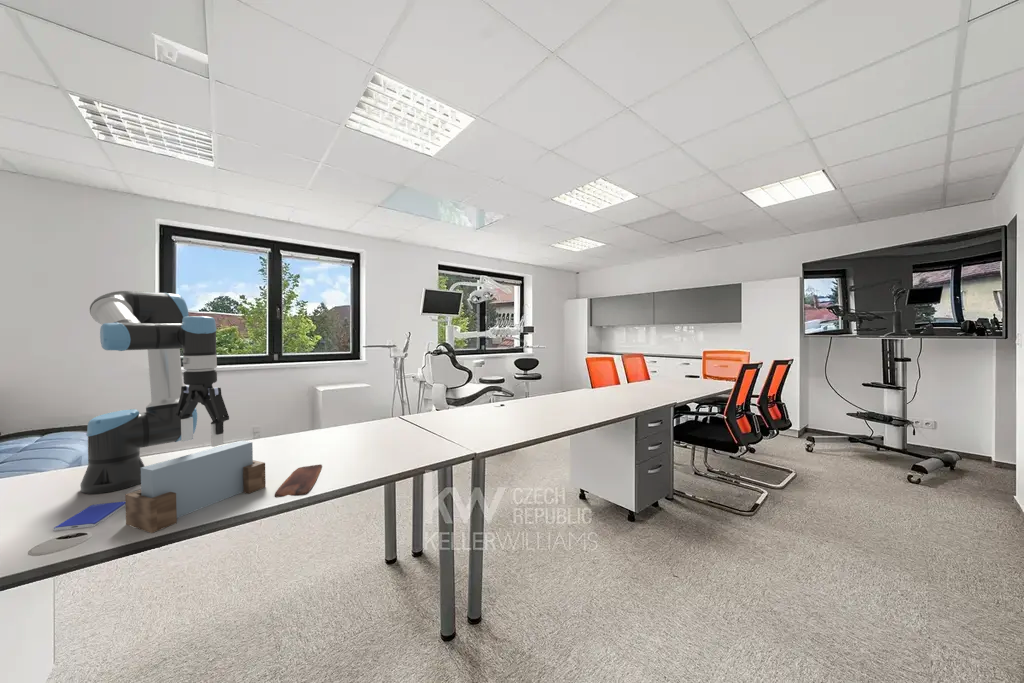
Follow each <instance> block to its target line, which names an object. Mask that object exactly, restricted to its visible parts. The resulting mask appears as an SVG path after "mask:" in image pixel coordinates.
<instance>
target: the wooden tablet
mask: <svg viewBox="0 0 1024 683" xmlns="http://www.w3.org/2000/svg"><path fill="white" fill-rule="evenodd" d="M322 468H323V464H321V463H320V464H315V465H314V464H313V465H306V466H301V467H297V468H296V469H295V470H293V472H291V474H290V475H289V476H288V477H287V478H286V479H285V480H284V481H283V483H282V484H281V485H280V486H279V487H278V488H277V490H276V491H275V492H274V497H275V498H281V497H287V496H295V497H296V496H304V495H307V494H308V493H309V492H310V491H311V489H312V488H313V486H314V485H315V483H316V482H317V480H318V477H319V475H320V473H321V470H322Z"/></svg>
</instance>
